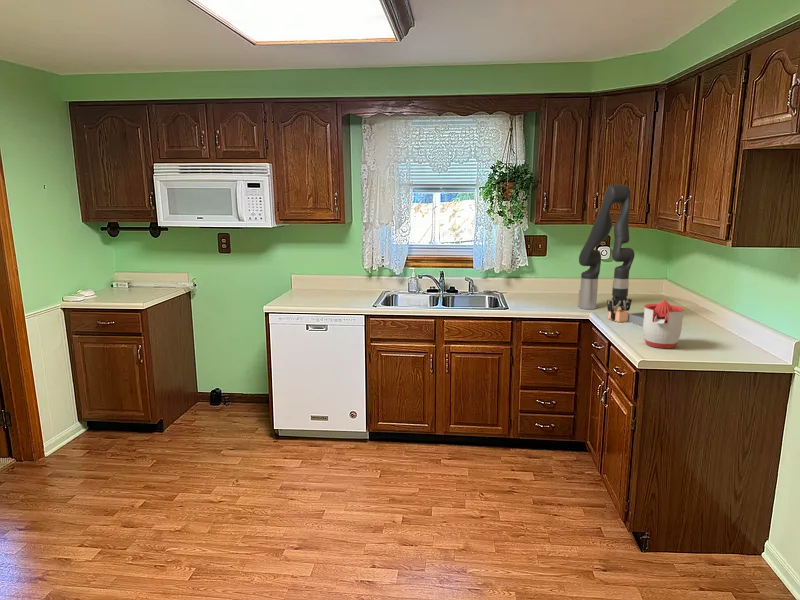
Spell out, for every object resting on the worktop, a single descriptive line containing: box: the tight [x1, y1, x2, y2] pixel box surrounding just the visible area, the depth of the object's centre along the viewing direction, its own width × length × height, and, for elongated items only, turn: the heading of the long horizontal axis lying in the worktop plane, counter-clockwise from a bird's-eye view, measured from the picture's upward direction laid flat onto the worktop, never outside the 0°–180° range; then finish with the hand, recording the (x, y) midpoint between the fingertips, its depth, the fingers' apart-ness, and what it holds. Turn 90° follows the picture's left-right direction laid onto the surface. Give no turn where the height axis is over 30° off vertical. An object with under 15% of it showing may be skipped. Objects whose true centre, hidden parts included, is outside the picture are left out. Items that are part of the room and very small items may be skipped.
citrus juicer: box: [642, 299, 685, 350], centre depth 241 cm, size 16×17×20 cm
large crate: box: [627, 311, 644, 327], centre depth 284 cm, size 12×14×4 cm
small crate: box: [607, 308, 629, 323], centre depth 288 cm, size 8×6×5 cm
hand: (617, 319), depth 289 cm, fingers closed on small crate, 5 cm apart
